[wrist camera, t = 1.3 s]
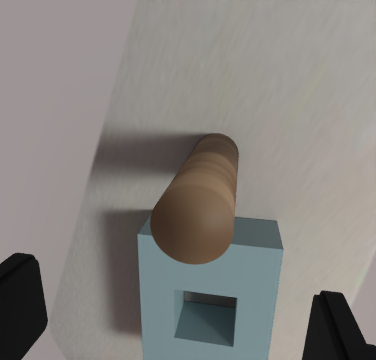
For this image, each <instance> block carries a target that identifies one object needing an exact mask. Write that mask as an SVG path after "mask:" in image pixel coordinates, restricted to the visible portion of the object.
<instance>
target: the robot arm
mask: <svg viewBox="0 0 376 360" xmlns="http://www.w3.org/2000/svg"><path fill="white" fill-rule="evenodd" d="M47 322H48V318H47V312H46V305H45V299H44V293H43V287H42V281H41V275H40V268H39V263H38V261H37V260H36V259H35V257H34V256H33V255H31V254H24V253H15V254H13V255H11V256H10V257H9V258H7V259H6V260H5V261H3V262H2V263H1V264H0V360H21V359H22V358H23V357H24V356H25V354H26V353H27V352H28V351H29V349H30V348H31V347H32V345H33V344H34V343H35V341H37V339H38V338H39V337H40V336H41V334H42V333H43V332H44V330H45V329H46V326H47ZM302 360H376V346H375V345H370V344H366V342H365V340H364V337H363V335H362V333H361V331H360V329H359V327H358V325H357V322H356V320H355V318H354V316H353V314H352V312H351V310H350V308H349V305H348V303H347V301H346V299H345V297H344V295H343V294H342V293H339V292H331V291H323V290H322V291H321V292H320V295H314V297H313V302H312V307H311V313H310V318H309V324H308V329H307V335H306V340H305V346H304V351H303V357H302Z"/></svg>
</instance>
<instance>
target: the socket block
mask: <svg viewBox="0 0 376 360" xmlns="http://www.w3.org/2000/svg"><path fill="white" fill-rule="evenodd" d="M151 214H152V213H151ZM150 218H151V215H150V216H149V218H148V219H147V221H146V222H145V224H144V225H143V227H142V228H141V230H140V231H139V233H138V234H137V236H138V258H139V280H140V302H141V324H142V346H143V360H268V356H269V349H270V341H271V334H272V327H273V320H274V313H275V306H276V299H277V292H278V284H279V277H280V270H281V263H282V256H283V246H282V241H281V237H280V232H279V228H278V224H277V221H272V220H261V219H250V218H239V217H234V230H233V238H232V241H231V244H230V246H229V247H228V249H227V250H226V252H225V253H224V254H223V255H222V256H220V257H219V258H217V259H216V260H214V261H212V262H209V263H206V264H199V265H192V264H185V263H182V262H179V261H176V260H174V259H172V258H170V257H169V256H168V255H166V254H165V253H164V252H163V251H162V250H161V249H160V248H159V247H158V245H157V244H156V242H155V241H154V239H153V236H152V233H151V229H150ZM184 291H190V292H198V293H205V294H213V295H220V296H228V297H235V298H236V301H235V308H231V307H224V306H216V305H209V304H202V303H195V302H188V301H184Z"/></svg>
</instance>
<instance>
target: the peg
mask: <svg viewBox="0 0 376 360" xmlns="http://www.w3.org/2000/svg"><path fill="white" fill-rule="evenodd" d="M238 158H239V153H238V148H237V146H236V144H235V143H234V141H233V140H232V139H231V138H229V137H228V136H226V135H223V134H218V133H216V134H210V135H207V136H205V137H203V138H202V139H201V140H200V141H199V142H198V144H197V145H196V147H195V148H194V150H193V151H192V153H191V154H190V156H189V157H188V158H187V160H186V161H185V163H184V164H183V166H182V167H181V169H180V170H179V172H178V173H177V175H176V176H175V177H174V179H173V180H172V182H171V183H170V185H169V186H168V188H167V189H166V191H165V192H164V194H163V195H162V197H161V198H160V199H159V201H158V202H157V204H156V205H155V207H154V209H153V211H152V214H151V218H150V229H151V233H152V236H153V239H154V241H155V242H156V244H157V245H158V247H159V248H160V249H161V250H162V251H163V252H164V253H165V254H166V255H168V256H169V257H170V258H172V259H174V260H176V261H179V262H182V263H185V264H192V265H199V264H206V263H209V262H212V261H214V260H216V259H217V258H219V257H220V256H222V255H223V254H224V253H225V252H226V250H227V249H228V247H229V246H230V244H231V241H232V238H233V230H234V216H235V201H236V187H237V172H238Z"/></svg>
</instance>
